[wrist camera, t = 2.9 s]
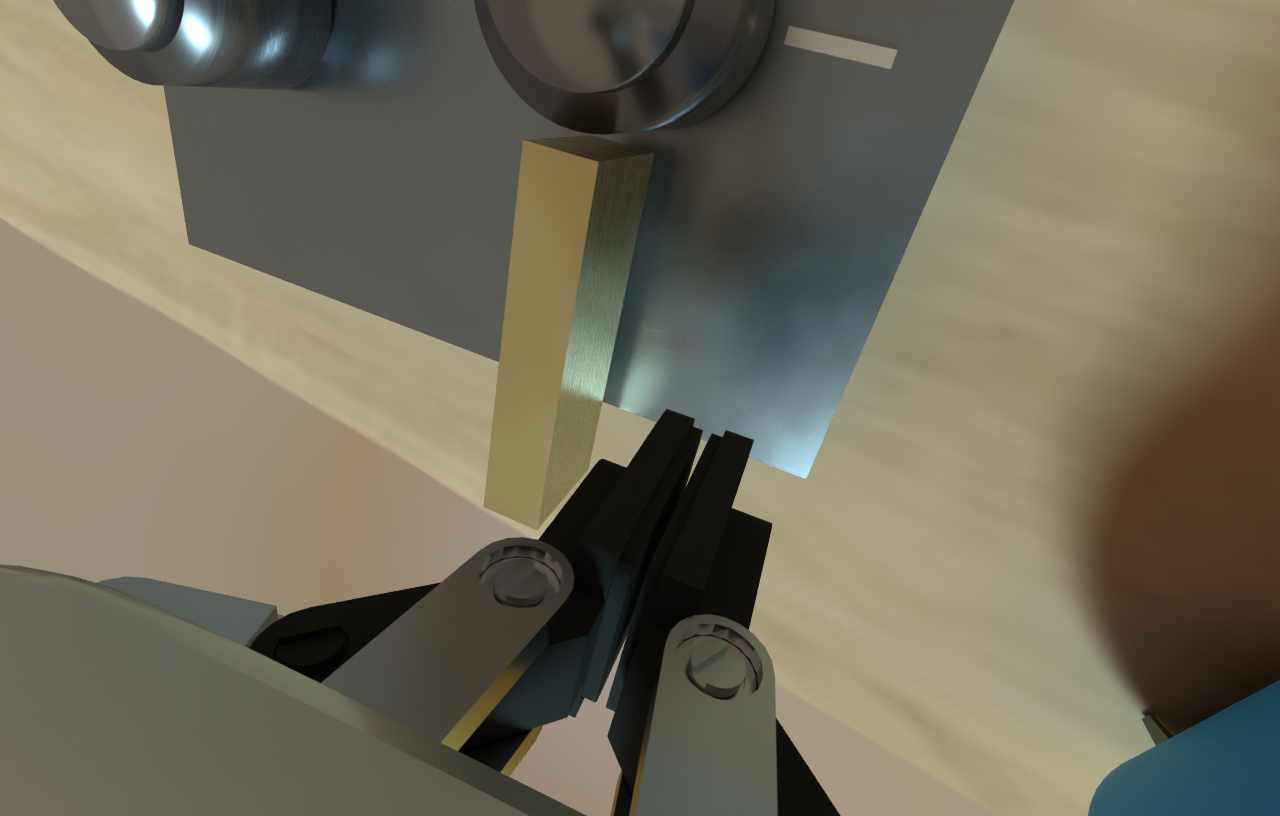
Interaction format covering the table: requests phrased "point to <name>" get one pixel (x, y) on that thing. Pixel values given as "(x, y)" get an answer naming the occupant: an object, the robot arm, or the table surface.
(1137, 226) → the table surface
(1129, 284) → the table surface
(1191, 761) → the alarm clock
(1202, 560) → the table surface
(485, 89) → the control panel
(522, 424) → the knob
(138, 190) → the table surface
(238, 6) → the knob
